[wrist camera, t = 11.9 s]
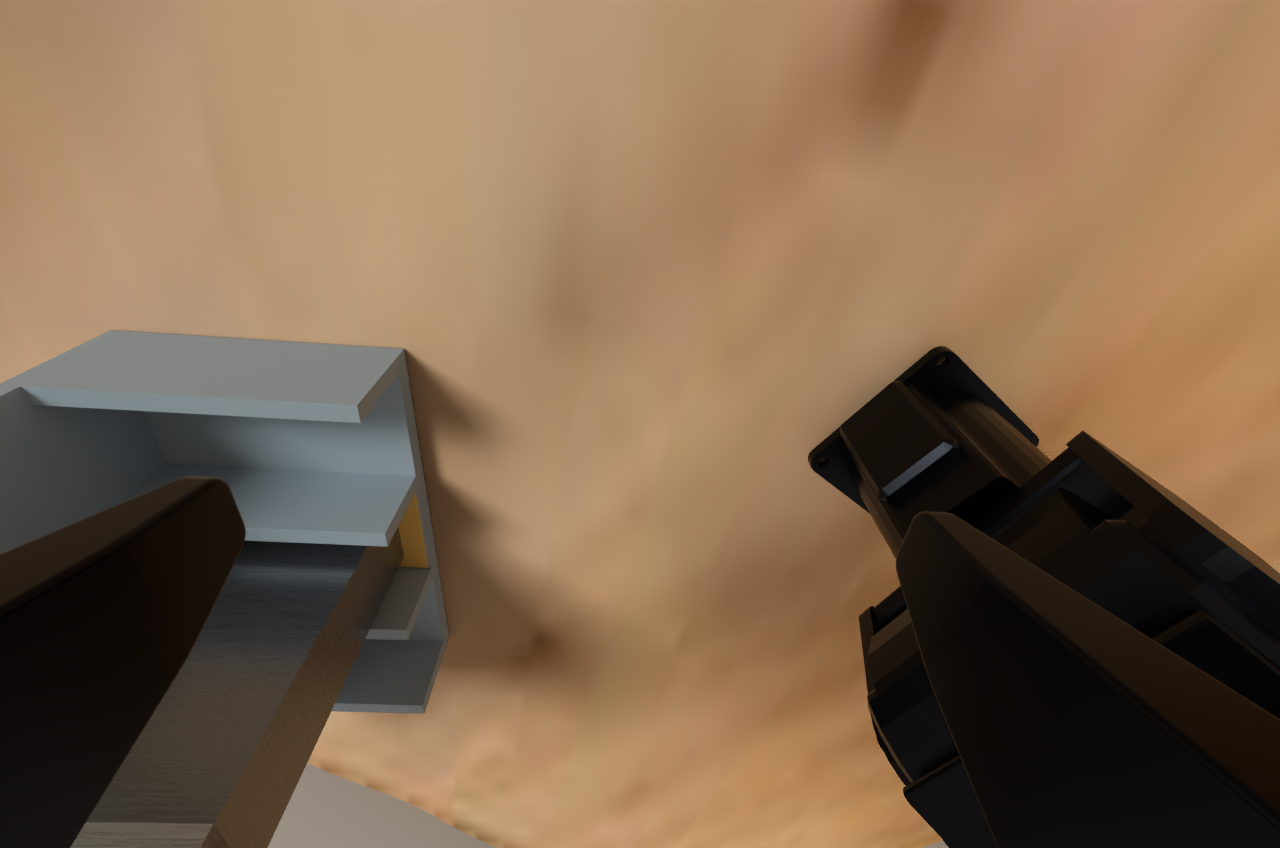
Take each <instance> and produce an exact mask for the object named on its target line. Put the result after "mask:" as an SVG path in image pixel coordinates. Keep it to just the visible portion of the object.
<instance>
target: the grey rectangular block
mask: <svg viewBox="0 0 1280 848" xmlns="http://www.w3.org/2000/svg"><path fill="white" fill-rule="evenodd" d="M403 557H404V553H403V548H402V543H401V538H400V533H399V529H398V528H397V530H396V532H395V533H394V535H393V537H392V539H391V541H390V543H389V545H388V547H385V546H362V545H339V544H315V543H292V542H268V541H244V544H243V547H242V549H241V551H240V553H239V555H238V557H237V559H236V561H235V564H234V566H233V568H232V570H231V572H230V574H229V576H228V578H227V580H226V582H225V584H224V586H223V588H222V590H221V592H220V594H219V596H218V598H217V600H216V602H215V604H214V606H213V609H212V611H211V613H210V615H209V617H208V619H207V621H206V623H205V625H204V627H203V629H202V631H201V633H200V635H199V637H198V639H197V641H196V643H195V645H194V646H193V648H192V650H191V652H190V654H189V656H188V658H187V659H186V661H185V663H184V665H183V666H182V668H181V670H180V671H179V673H178V675H177V676H176V678H175V680H174V681H173V683H172V685H171V686H170V688H169V689H168V691H167V693H166V694H165V696H164V697H163V699H162V701H161V702H160V704H159V705H158V707H157V709H156V710H155V712H154V714H153V715H152V717H151V718H150V720H149V722H148V723H147V725H146V726H145V728H144V730H143V731H142V733H141V735H140V736H139V738H138V739H137V741H136V743H135V744H134V746H133V747H132V749H131V751H130V752H129V754H128V755H127V757H126V759H125V760H124V762H123V764H122V765H121V767H120V768H119V770H118V772H117V773H116V775H115V776H114V778H113V780H112V781H111V783H110V785H109V786H108V788H107V789H106V791H105V793H104V794H103V796H102V797H101V799H100V801H99V802H98V804H97V805H96V807H95V809H94V810H93V812H92V814H91V815H90V817H89V818H88V820H87V822H86V823H85V825H84V826H83V828H82V830H81V831H80V833H79V835H78V836H77V838H76V839H75V841H74V843H73V844H72V846H71V847H70V848H267V847H268V845H269V843H270V841H271V838H272V837H273V834H274V832H275V830H276V828H277V826H278V824H279V822H280V820H281V817H282V815H283V813H284V811H285V809H286V807H287V805H288V802H289V800H290V798H291V796H292V794H293V792H294V790H295V787H296V785H297V783H298V781H299V779H300V777H301V775H302V772H303V770H304V768H305V766H306V764H307V762H308V760H309V758H310V756H311V753H312V751H313V749H314V747H315V745H316V743H317V741H318V738H319V736H320V734H321V732H322V730H323V728H324V726H325V724H326V721H327V719H328V717H329V715H330V713H331V711H332V709H333V706H334V704H335V702H336V700H337V698H338V696H339V694H340V692H341V689H342V687H343V685H344V683H345V681H346V679H347V677H348V674H349V672H350V670H351V668H352V666H353V664H354V662H355V660H356V657H357V655H358V653H359V651H360V649H361V647H362V645H363V642H364V640H365V638H366V636H367V634H368V632H369V630H370V627H371V625H372V623H373V621H374V619H375V617H376V615H377V613H378V610H379V608H380V606H381V604H382V602H383V600H384V598H385V595H386V593H387V591H388V589H389V587H390V585H391V583H392V581H393V578H394V576H395V574H396V572H397V570H398V568H399V566H400V563H401V561H402V559H403Z"/></svg>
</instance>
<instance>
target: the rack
mask: <svg viewBox="0 0 1280 848" xmlns="http://www.w3.org/2000/svg"><path fill="white" fill-rule="evenodd" d="M188 476H197V477H216V478H220V479H223V480H224V481H225V482H226V483H227V484H228V485H229V487H230V489H231V491H232V494H233V496H234V499H235V501H236V504H237V506H238V509H239V511H240V514H241V517H242V519H243V522H244V524H245V530H246V536H245V541H268V542H292V543H315V544H339V545H362V546H385V547H388V545H389V543H390V541H391V539H392V537H393V535H394V533H395V532H396V530H397V528H398V529H399V533H400V538H401V543H402V548H403V553H404V557H403V559H402V561H401V563H400V566H399V568H398V570H397V572H396V574H395V576H394V578H393V581H392V583H391V585H390V587H389V589H388V591H387V593H386V595H385V598H384V600H383V602H382V604H381V606H380V608H379V610H378V613H377V615H376V617H375V619H374V621H373V623H372V625H371V627H370V630H369V632H368V634H367V636H366V638H365V640H364V642H363V645H362V647H361V649H360V651H359V653H358V655H357V657H356V660H355V662H354V664H353V666H352V668H351V670H350V672H349V674H348V677H347V679H346V681H345V683H344V685H343V687H342V689H341V692H340V694H339V696H338V698H337V700H336V702H335V704H334V706H333V709H332V711H345V712H384V713H425V710H426V706H427V703H428V700H429V697H430V694H431V691H432V688H433V685H434V681H435V678H436V675H437V672H438V669H439V666H440V663H441V660H442V656H443V653H444V650H445V647H446V644H447V641H448V638H449V632H448V625H447V619H446V613H445V606H444V600H443V593H442V587H441V581H440V574H439V568H438V562H437V555H436V549H435V543H434V536H433V530H432V523H431V517H430V511H429V504H428V498H427V492H426V485H425V479H424V473H423V466H422V460H421V453H420V447H419V441H418V434H417V428H416V422H415V415H414V409H413V403H412V396H411V390H410V383H409V377H408V371H407V364H406V358H405V352H404V349H399V348H384V347H368V346H352V345H336V344H320V343H305V342H289V341H273V340H257V339H241V338H226V337H210V336H194V335H178V334H162V333H147V332H131V331H115V330H110V331H108V332H106V333H104V334H102V335H100V336H98V337H96V338H94V339H92V340H89V341H87V342H85V343H83V344H81V345H79V346H77V347H75V348H73V349H71V350H69V351H67V352H65V353H63V354H61V355H58V356H56V357H54V358H52V359H50V360H48V361H46V362H44V363H42V364H40V365H38V366H36V367H34V368H32V369H30V370H27V371H25V372H23V373H21V374H19V375H17V376H15V377H13V378H11V379H9V380H7V381H5V382H3V383H1V384H0V554H2V553H5V552H7V551H9V550H12V549H14V548H17V547H19V546H21V545H24V544H26V543H28V542H31V541H33V540H35V539H38V538H40V537H42V536H45V535H47V534H50V533H52V532H54V531H57V530H59V529H61V528H64V527H66V526H68V525H71V524H73V523H76V522H78V521H80V520H83V519H85V518H87V517H90V516H92V515H94V514H97V513H99V512H102V511H104V510H106V509H109V508H111V507H113V506H116V505H118V504H120V503H123V502H125V501H127V500H130V499H132V498H135V497H137V496H139V495H142V494H144V493H146V492H149V491H151V490H153V489H156V488H158V487H161V486H163V485H165V484H168V483H170V482H172V481H175V480H177V479H180V478H182V477H188Z"/></svg>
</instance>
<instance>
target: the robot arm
mask: <svg viewBox="0 0 1280 848" xmlns="http://www.w3.org/2000/svg"><path fill="white" fill-rule="evenodd" d="M944 357H945V360H944V361H943V362H942V363H941V364H939V365H936V363H937V361H938V360H939V359H941V358H944ZM1038 443H1039V439H1038V437H1037V436H1036V435H1035V434H1034V433H1033V432H1032V431H1031V430H1030V429H1029V428H1028V427H1027V426H1026V425H1025V424H1024V423H1023V422H1022V421H1021V420H1020V419H1019V418H1018V417H1017V416H1016V415H1015V414H1014V413H1013V412H1012V411H1011V410H1010V409H1009V407H1008V406H1007V405H1006V404H1005V403H1004V402H1003V401H1002V400H1001V399H1000V398H999V397H998V396H997V395H996V394H995V393H994V392H993V391H992V390H991V389H990V388H989V387H988V386H987V385H986V384H985V383H984V382H983V381H982V380H981V379H980V378H979V377H978V376H977V375H976V374H975V373H974V372H973V371H972V370H971V369H970V368H969V367H968V366H967V365H966V364H965V363H964V362H963V361H962V360H961V359H960V358H959V357H958V356H957V355H956V354H955V353H954V352H953V351H951V350H950V349H949V348H947V347H943V346H939V347H936V348H933V349H932V350H930V351H929V352H928V353H927V354H925V355H924V356H923V357H922V358H921V359H919V360H918V361H917V362H916V363H915V364H914V365H912V366H911V367H910V368H909V369H908V370H906V371H905V372H904V373H903V374H902V375H901V376H899V377H898V378H897V379H896V380H895V381H893V382H892V383H890V384H889V385H888V386H887V387H886V388H884V389H883V390H882V391H881V392H880V393H879V394H877V395H876V396H875V397H874V398H873V399H871V400H870V401H869V402H868V403H867V404H866V405H864V406H863V407H862V408H861V409H860V410H858V411H857V412H856V413H855V414H854V415H853V416H851V417H850V418H849V419H848V420H847V421H845V422H844V423H843V424H842V425H841V426H840V427H839V428H838V429H837V430H836V431H834V432H833V433H832V434H831V435H830V436H828V437H827V438H826V439H825V440H824V441H823V442H821V443H820V444H819V445H818V446H817V447H815V448H814V449H813V450H812V451H811V452H810V453H809V456H808V462H809V464H810V466H811V468H812V469H813V470H814V471H815V472H816V473H817V474H819V475H820V476H821V477H823V478H824V479H825V480H827V481H828V482H829V483H831V484H832V485H833V486H835V487H836V488H837V489H839V490H840V491H841V492H842V493H844V494H845V495H846V496H848V497H849V498H850V499H852V500H853V501H854V502H856V503H857V504H858V505H860V506H861V507H862V508H863V509H865V510H866V511H867V512H869V513H870V514H871V516H872V517H873V519H874V521H875V523H876V524H877V526H878V528H879V530H880V531H881V533H882V535H883V537H884V539H885V540H886V542H887V544H888V546H889V547H890V549H891V551H892V553H893V555H894V556H895V558H896V569H897V574H898V578H899V581H900V585H901V586H900V587H899V588H897V589H896V590H895V591H894V592H893V593H891V594H890V595H889V596H888V597H886V598H885V599H884V600H883V601H882V602H880V603H879V604H878V605H877V606H876V607H873V606H871V607H869V608H868V609H867V610H866V611H864V612H863V613H862V614H861V615H860V616H859V622H860V630H861V639H862V647H863V656H864V664H865V672H866V681H867V689H868V696H867V699H868V708H869V710H870V714H871V718H872V723H873V727H874V730H875V733H876V736H877V740H878V743H879V745H880V747H881V748H882V750H883V751H884V753H885V755H886V757H887V758H888V760H889V762H890V764H891V765H892V767H893V768H894V770H895V771H896V773H897V774H898V776H899V777H900V779H901V780H902V782H903V783H904V784H905V785H906V786H905V787H904V788H903V793H904V796H905V798H906V799H907V801H908V802H909V803H910V805H911V806H912V807H913V808H914V809H915V810H916V811H917V812H918V813H919V814H920V815H921V816H922V817H923V819H924V820H925V821H926V822H927V823H928V824H929V825H930V826H931V827H932V828H933V829H934V830H935V831H936V832H937V834H938V835H939V836H940V837H941V838H942V839H943V841H944V842H945V843H946V845H947V846H948V847H949V848H1280V573H1278V572H1277V571H1276V570H1275V569H1273V568H1272V567H1271V566H1270V565H1269V564H1267V563H1266V562H1265V561H1264V560H1263V559H1261V558H1260V557H1259V556H1258V555H1256V554H1255V553H1254V552H1252V551H1251V550H1250V549H1248V548H1247V547H1246V546H1244V545H1243V544H1242V543H1240V542H1239V541H1237V540H1236V539H1235V538H1233V537H1232V536H1231V535H1229V534H1228V533H1227V532H1225V531H1224V530H1223V529H1221V528H1220V527H1219V526H1217V525H1216V524H1215V523H1213V522H1212V521H1211V520H1209V519H1208V518H1206V517H1205V516H1204V515H1202V514H1201V513H1200V512H1198V511H1197V510H1196V509H1194V508H1193V507H1192V506H1190V505H1189V504H1188V503H1186V502H1185V501H1184V500H1182V499H1181V498H1179V497H1178V496H1177V495H1175V494H1174V493H1172V492H1171V491H1169V490H1168V489H1167V488H1165V487H1164V486H1162V485H1161V484H1159V483H1158V482H1156V481H1155V480H1154V479H1152V478H1151V477H1149V476H1148V475H1146V474H1145V473H1143V472H1142V471H1141V470H1139V469H1138V468H1136V467H1135V466H1133V465H1132V464H1130V463H1129V462H1128V461H1126V460H1125V459H1123V458H1122V457H1120V456H1119V455H1117V454H1116V453H1115V452H1113V451H1112V450H1110V449H1109V448H1107V447H1106V446H1105V445H1103V444H1102V443H1100V442H1099V441H1097V440H1096V439H1094V438H1093V437H1092V436H1090V435H1089V434H1087V433H1086V432H1084V431H1082V432H1080V433H1079V434H1078V435H1077V436H1075V437H1074V438H1073V439H1072V440H1071V441H1069V442H1068V443H1067V444H1066V445H1067V446H1068V448H1067V449H1066V450H1065V451H1064V452H1062V453H1061V454H1060V455H1059V456H1057V457H1056V458H1055V459H1054V460H1053V461H1051V460H1050V459H1049V458H1048V457H1047V456H1046V455H1044V454H1043V453H1042V452H1041V451H1040V450H1039V449H1038V448H1037V445H1038ZM824 457H826V459H825V460H824V461H822V462H817V461H818V460H819V459H821V458H824ZM245 536H246V530H245V524H244V522H243V519H242V517H241V514H240V511H239V509H238V506H237V504H236V501H235V499H234V496H233V494H232V491H231V489H230V487H229V485H228V484H227V483H226V482H225V481H224V480H223V479H220V478H216V477H197V476H188V477H182V478H180V479H177V480H175V481H172V482H170V483H168V484H165V485H163V486H161V487H158V488H156V489H153V490H151V491H149V492H146V493H144V494H142V495H139V496H137V497H135V498H132V499H130V500H127V501H125V502H123V503H120V504H118V505H116V506H113V507H111V508H109V509H106V510H104V511H102V512H99V513H97V514H94V515H92V516H90V517H87V518H85V519H83V520H80V521H78V522H76V523H73V524H71V525H68V526H66V527H64V528H61V529H59V530H57V531H54V532H52V533H50V534H47V535H45V536H42V537H40V538H38V539H35V540H33V541H31V542H28V543H26V544H24V545H21V546H19V547H17V548H14V549H12V550H9V551H7V552H5V553H2V554H0V848H70V847H71V846H72V844H73V843H74V841H75V839H76V838H77V836H78V835H79V833H80V831H81V830H82V828H83V826H84V825H85V823H86V822H87V820H88V818H89V817H90V815H91V814H92V812H93V810H94V809H95V807H96V805H97V804H98V802H99V801H100V799H101V797H102V796H103V794H104V793H105V791H106V789H107V788H108V786H109V785H110V783H111V781H112V780H113V778H114V776H115V775H116V773H117V772H118V770H119V768H120V767H121V765H122V764H123V762H124V760H125V759H126V757H127V755H128V754H129V752H130V751H131V749H132V747H133V746H134V744H135V743H136V741H137V739H138V738H139V736H140V735H141V733H142V731H143V730H144V728H145V726H146V725H147V723H148V722H149V720H150V718H151V717H152V715H153V714H154V712H155V710H156V709H157V707H158V705H159V704H160V702H161V701H162V699H163V697H164V696H165V694H166V693H167V691H168V689H169V688H170V686H171V685H172V683H173V681H174V680H175V678H176V676H177V675H178V673H179V671H180V670H181V668H182V666H183V665H184V663H185V661H186V659H187V658H188V656H189V654H190V652H191V650H192V648H193V646H194V645H195V643H196V641H197V639H198V637H199V635H200V633H201V631H202V629H203V627H204V625H205V623H206V621H207V619H208V617H209V615H210V613H211V611H212V609H213V606H214V604H215V602H216V600H217V598H218V596H219V594H220V592H221V590H222V588H223V586H224V584H225V582H226V580H227V578H228V576H229V574H230V572H231V570H232V568H233V566H234V564H235V561H236V559H237V557H238V555H239V553H240V551H241V549H242V547H243V544H244V541H245Z"/></svg>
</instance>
